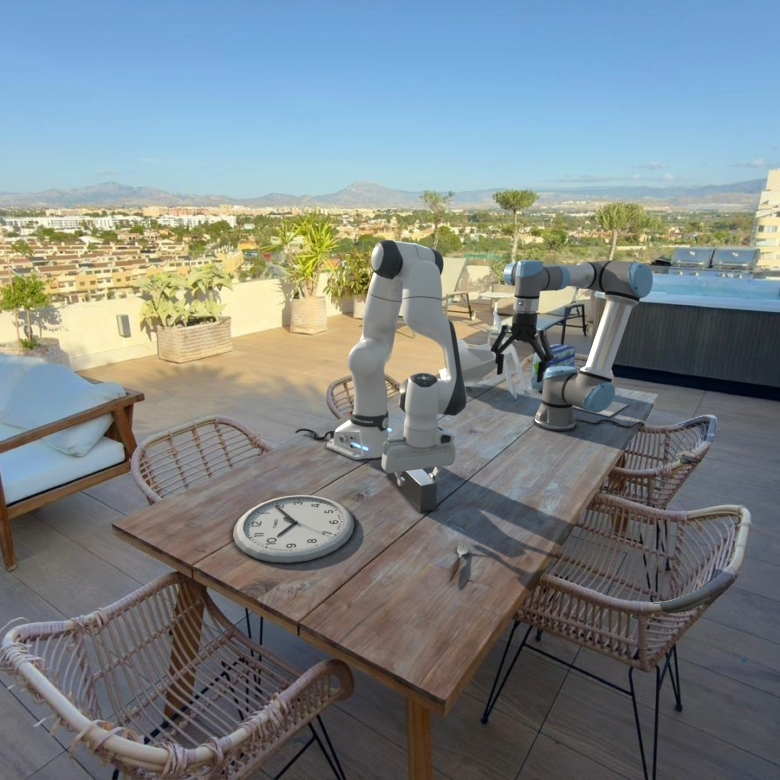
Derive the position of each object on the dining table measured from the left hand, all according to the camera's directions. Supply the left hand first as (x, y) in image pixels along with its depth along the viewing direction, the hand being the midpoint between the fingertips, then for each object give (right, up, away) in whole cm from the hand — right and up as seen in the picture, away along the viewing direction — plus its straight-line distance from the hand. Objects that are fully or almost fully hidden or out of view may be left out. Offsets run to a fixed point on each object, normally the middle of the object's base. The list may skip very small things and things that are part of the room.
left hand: (417, 482), depth 141 cm
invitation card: (+84, +18, +85) cm, 121 cm away
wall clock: (-31, -10, -9) cm, 34 cm away
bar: (-2, -4, +9) cm, 10 cm away
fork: (+8, -14, -22) cm, 28 cm away
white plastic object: (+34, +24, +102) cm, 110 cm away
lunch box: (+70, +26, +109) cm, 132 cm away
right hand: (+34, +29, +26) cm, 52 cm away
